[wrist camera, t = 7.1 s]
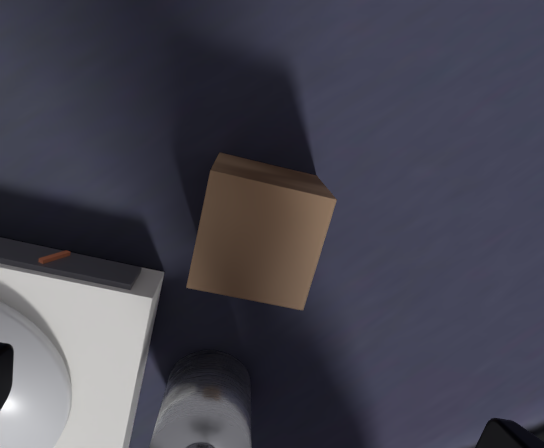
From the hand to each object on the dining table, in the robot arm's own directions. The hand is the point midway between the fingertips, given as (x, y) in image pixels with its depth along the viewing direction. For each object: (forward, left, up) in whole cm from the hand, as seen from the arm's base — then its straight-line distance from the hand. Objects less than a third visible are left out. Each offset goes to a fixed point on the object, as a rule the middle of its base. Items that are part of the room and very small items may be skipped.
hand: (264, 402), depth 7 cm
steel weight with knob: (0, +10, -12) cm, 15 cm away
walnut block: (0, 0, -12) cm, 12 cm away
